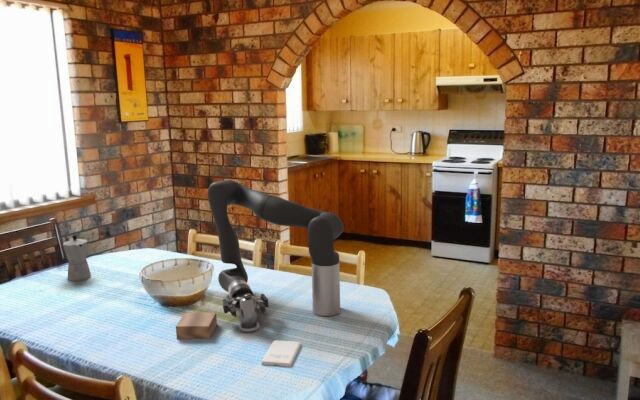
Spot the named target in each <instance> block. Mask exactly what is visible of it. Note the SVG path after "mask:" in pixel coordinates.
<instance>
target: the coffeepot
mask: <svg viewBox="0 0 640 400" xmlns="http://www.w3.org/2000/svg"><path fill="white" fill-rule="evenodd" d="M62 246H63V249H64V253H65V255H66V256H65V257H66V259H67V261H68V264H67V281H70V282H80V281H84V280H88V279H89V278H91V275H92V273H91V271H90V267H89V263H88V261H87V256H88V255H87V253H88V252H87V251H88V250H87V249H88V239H83V238H77V235H76V234H72V237H67V238H66V241H64V242H63V244H62Z"/></svg>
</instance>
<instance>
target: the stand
mask: <svg viewBox="0 0 640 400" xmlns="http://www.w3.org/2000/svg"><path fill="white" fill-rule="evenodd" d="M217 320H218V319H217V312H184V313H183V315H182V317H181V318H180V319H179V321H178V322H177V324H176V325H175V333H176V334H175V335H176V339H177V340H178V339H181V340H183V339H191V340H192V339H194V340H195V339H197V340H198V339H200V340H201V339H202V340H203V339H210V338H211V336H212V334H213V333H214V330H215V329H216V327H217V325H218V321H217Z"/></svg>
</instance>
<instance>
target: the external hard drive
mask: <svg viewBox="0 0 640 400" xmlns="http://www.w3.org/2000/svg"><path fill="white" fill-rule="evenodd" d="M301 346H302V343H301V342H300V341H291V340H290V341H289V340H277V339H276V340H275V339H274V340H273V342H272V343H271V344H270V347H269V349H268V350H267V352H266V353H265V355H264V356H263V359H262V360H261V365H264V366H265V365H268V366H279V367H292V364H293V363H294V360H295V358H296V356H297V354H298V352H299V350H300V348H301Z"/></svg>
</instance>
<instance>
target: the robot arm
mask: <svg viewBox="0 0 640 400" xmlns="http://www.w3.org/2000/svg"><path fill="white" fill-rule="evenodd" d="M207 200H208V203H209V207H210V210H211V215H212V217H213V221H214V225H215V228H216V232H217V236H218V237H217V238H218V243H219V251H220V260H221V262H222V263H223V264H229V265H235V266H236V267H234V268H228V269H223V270H221V271H220V273H219V274H218V277H217V279H218V284H219V286H220V287H221V288H222V289H223V290H224V291H225V292H227V293H228V296H229V299H230V300H227V299H226V298H224V299H222V308H223V309H222V310H223V313H224V314H227V313H230V315H231V316H232V317H234V318H237V316H238V315H237V313H238V312H239V311H240V298H241V297H243V296H244V294H246V293H250V294H252V296H255V297H256V309H259V311H260V313H261V314H264V313H265V311H266V308H269V299H268V297H267V296H266V295H265V293H261V294H260V296H256V295H255V294H254V292H253V290H252V288H251V287H250V285H249V284H248V281H249V280H248V279H249V275H248V273H247V271H246V269H245V266H244V264H243V260H242V257H241V251H240V250H241V249H240V243H239V242H240V241H239V237H238V234H237V232H236V230H235V229H234V227H233V226H232V223H231V221H230V219H229V216H228V215H229V214H228V206H234V205H235V206H238V207H244V208H247V209H249V210H250V211H251V212H252V213H253V214H254V215H255V216H256V217H258V219H261V220H263V221H264V222H267V223H271V224H274V225H276V226H283V227H297V228H303V229H304V228H305V229H307V242H308V243H307V245H308V253H309V255H310V259H311V292H312V312H313V313H314V315H317V316H322V317H330V316H335V315H340V314H341V285H340V284H341V282H340V279H341V278H340V277H341V276H340V275H341V274H340V272H341V271H340V254H339V252H337V251H336V250H335V247H334V244H335V243H334V240H336V239H337V238H339V237H340V236H341V235H342V233H343V232H344V227H345V226H344V223H343V220H342V219H341V218H340V217H339V215H337V214H335V213H334V212H330V211H329V212H328V211H325V210H319V209H316V208H311V207H307V206H304V205H301V204H299V203H297V202H293V201H291V200H287V199H285V198H282V197H279V196H276V195H273V194H270V193H266V192H262V191H260V190H256V189H253V188H250V187H248V186H246V185H244V184H242V183H239V182H237V181H235V180H233V179H225V180H220V181H215V182H212V183H211V184H209V187H208V189H207Z"/></svg>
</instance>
